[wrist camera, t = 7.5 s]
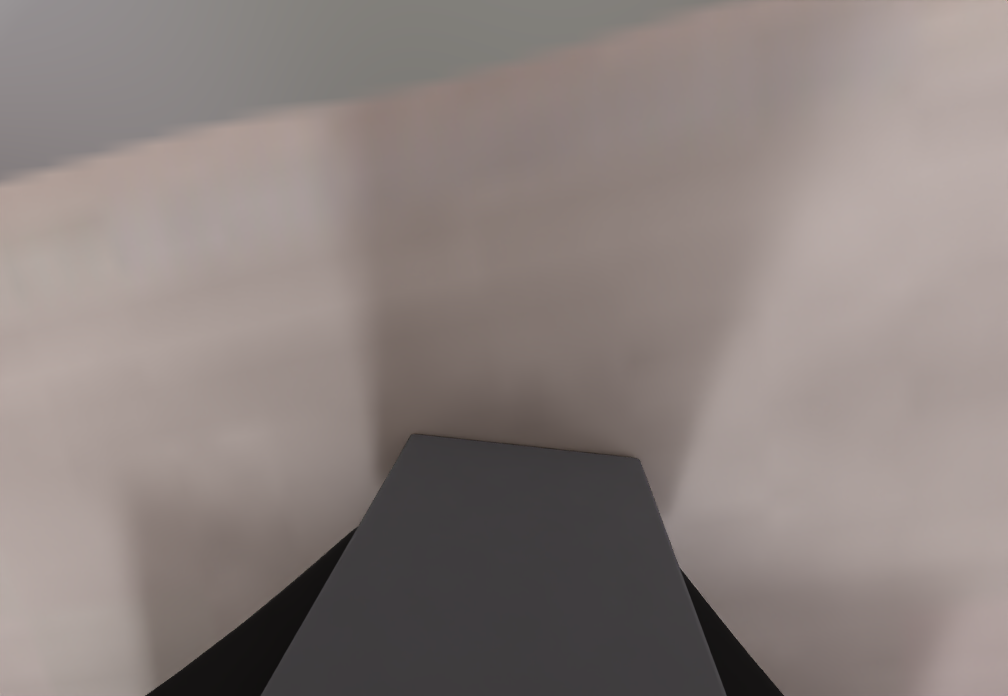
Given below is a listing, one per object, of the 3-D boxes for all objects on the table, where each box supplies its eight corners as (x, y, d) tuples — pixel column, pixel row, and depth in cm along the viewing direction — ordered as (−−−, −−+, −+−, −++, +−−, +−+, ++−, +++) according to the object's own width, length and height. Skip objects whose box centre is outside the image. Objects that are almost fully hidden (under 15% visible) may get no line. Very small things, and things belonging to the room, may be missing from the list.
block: (640, 456, 9) (761, 776, 4) (605, 657, 10) (662, 1089, 5) (411, 431, 9) (250, 706, 4) (405, 631, 10) (277, 1020, 5)
